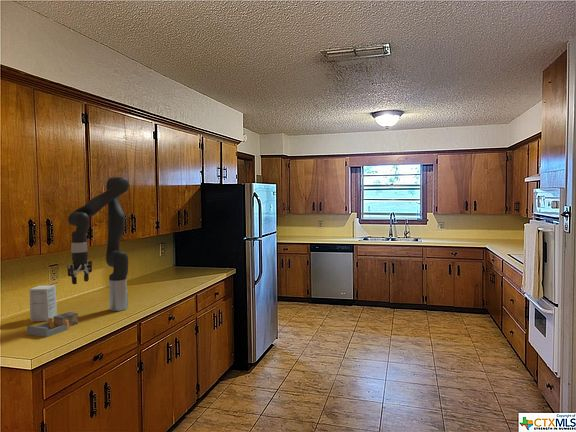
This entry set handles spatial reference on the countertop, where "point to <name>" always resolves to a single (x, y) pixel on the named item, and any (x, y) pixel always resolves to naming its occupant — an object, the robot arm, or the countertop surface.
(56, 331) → the bay
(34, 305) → the supplement box
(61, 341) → the countertop surface
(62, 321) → the grey block
